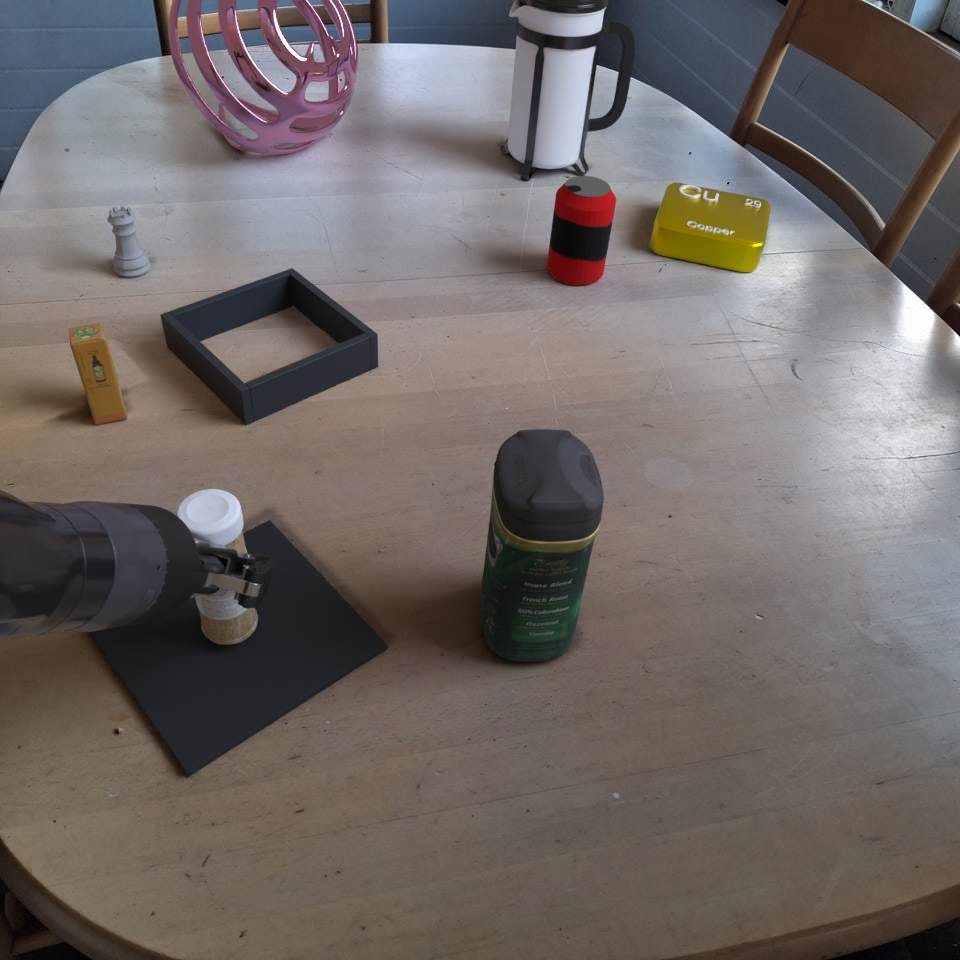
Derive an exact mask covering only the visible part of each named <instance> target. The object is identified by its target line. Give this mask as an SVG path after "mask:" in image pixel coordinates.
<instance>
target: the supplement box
mask: <svg viewBox="0 0 960 960" xmlns="http://www.w3.org/2000/svg"><path fill="white" fill-rule="evenodd" d="M68 334H69V336H68V337H69V347H70V349H71V352H72V356H73V359H74V361H75V364H76V368H77V371H78V374H79V377H80V381H81V384H82V387H83V391H84V394H85V397H86V400H87V403H88V407H89V410H90V413H91V416H92V420H93V424H94V425H96V426H98V425H103V424H108V423H112V422H115V421H116V422H117V421H124V420H127V419H128V413H127V408H126V404H125V400H124V397H123V393H122V389H121V386H120V382H119V378H118V375H117V371H116V368H115V364H114V361H113V358H112V357H113V356H112V353H111V350H110V347H109V344H108V340H107V337H106V333H105V330H104V326H103V325H102V323H101V322H97V323H91V324H86V325H79V326H75V327H69V328H68Z"/></svg>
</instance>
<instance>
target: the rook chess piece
mask: <svg viewBox="0 0 960 960" xmlns="http://www.w3.org/2000/svg"><path fill="white" fill-rule="evenodd" d="M119 207H120V209H118V207H117V206H114V207H112V209H108V213H109V214H108V217H107V222H108V223H109V224H110V225H111V226H112V229H111V233H112V234H114V238H115V248H116V249H115V251H114V256H113V258H112V263H113V270H114V272H115V273H116V274H117V275H119V276H120V277H123V278H127V279H134V278H135V279H136V278H140V277H142V276H145V275H146V274H148V273H149V271H150V269H151V267H152V264H151V261H150V257H149V255H148V253H147V252H146V251H145V250H144V248H142V247H141V244H140V243H139V240H138V238H137V234H136V231H137V227H136V226H135V225H134V223H135V220H136V219H137V217H136V215H135V214H134V213H133V212H132V210H131V208H130V207H128V206H127V207H125V205H120V206H119Z"/></svg>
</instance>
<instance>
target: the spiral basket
mask: <svg viewBox="0 0 960 960" xmlns="http://www.w3.org/2000/svg"><path fill="white" fill-rule="evenodd" d="M278 1H279V0H257V4H256V7H257V18H258V23H259V26H260V30H261V32H262V35H263V37H264V40H265V42H266V43H267V44H266V45H268V47H269V49H270V50H271V52H272V54H273V55H274V56H275V57H276V59H277V60H278V61H279V62H280V63H281V64H282V65H283V67H285V68H286V69H288V71H290V72H291V73H293V74H294V76H295V79H296V80H295V84H294V86H293V88H292V89H291V90H290V91H284V90H283V89H281V88H279V86H278V85H276V84H275V83H273V82H272V81H271V80H270V79H269V78H268V77H267V76H266V74H264V72H263V71H262V70H261V69H260V68H259V66H258V65H257V63H256V61H255V60H254V59H253V58H252V56H251V54H250V52H249V50H248V48H247V45H246V43H245V41H244V39H243V36H242V32H241V29H240V25H239V21H238V14H237V0H217V16H218V23H219V28H220V34H221V36H222V39H223V43H224V45H225V48H226V50H227V53H228V56H229V57H230V59H231V62H232V63H233V64H234V67H235V68H236V70H237V71H238V72H239V74H240V76H241V77H242V78H243V79H244V81H245V82H246V83H247V84H248V86H249V87H250V88H251V89H252V90H253V91H254V92H255V93H256V94H257V95H258V96H260V98H262V99H263V100H264V101H265V102H267V103H268V104H270V105H271V106H272V107H273V108H275V109H276V110H277V112H276V111H271V110H268V109H265V108H263V107H260V106H257V105H255V104H253V103H251V102H249V101H246V100H244V99H242V98H240V97H236V95H235V94H234V93H233V92H232V91H231V89H230V88H229V87H228V85H227V84H226V83H225V81H224V80H223V78H222V76H221V75H220V73H219V71H218V70H217V67H216V66H215V64H214V62H213V58H212V57H211V54H210V52H209V50H208V49H209V48H208V46H207V43H206V40H205V36H204V35H205V34H204V31H203V25H202V24H203V23H202V0H187V2H186V14H185V16H186V18H185V19H186V30H187V35H188V41H189V44H190V48H191V52H192V56H193V57H194V61H195V63H196V65H197V68H198V70H199V72H200V74H201V75H202V78H203V80H204V81H205V83H206V84H207V86H208V88H209V89H210V91H211V92H212V93H213V95H214V96H215V98H216V99H217V100H218V101H219V103H218V107H217V108H218V110H217V111H218V112H217V113H218V115H217V114H216V113H215V112H214V111H213V109H212V108H211V107H210V106H209V104H207V102H206V101H205V100H204V98H203V96H201V94H200V92H199V91H198V89H197V87H196V86H195V83H194V82H193V79H192V78H191V76H190V74H189V72H188V69H187V67H186V64H185V61H184V58H183V55H182V50H181V46H180V40H179V29H178V27H179V26H178V23H179V21H178V20H179V19H178V18H179V12H180V7H181V2H182V0H172V2H171V5H170V10H169V14H168V26H167V32H168V44H169V45H168V46H169V50H170V55H171V59H172V63H173V66H174V69H175V71H176V74H177V77H178V79H179V81H180V83H181V85H182V87H183V89H184V91H185V93H186V95H187V96H188V98H189V99H190V101H191V102H192V104H193V105H194V107H195V108H196V109H197V111H198V112H199V113H200V114H201V115H202V116H203V117H204V119H205V120H206V121H207V122H208V123H209V124H210V125H211V126H212V127H213V128H215V129H216V130H217V131H218V132H219V133H220V134H222V135H223V137H224V139H225V140H226V142H227V143H228V144H229V145H230V147H233V148H234V149H236V150H239V151H241V152H245V153H251V154H253V153H254V154H263V155H288V154H293V153H296V152H300V151H302V150H305V149H307V148H308V147H310V146H312V145H313V144H315V143H316V142H317V141H318V140H320V139H321V138H322V137H323V136H325V135H327V134H328V133H329V132H330V131H332V130H333V129H334V128H335V127H336V126H337V125H338V124H339V122H340V121H341V120H342V118H343V117H344V116H345V113H346V112H347V110H348V108H349V106H350V104H351V102H352V100H353V99H352V98H353V97H354V96H353V95H354V91H355V87H356V83H357V77H358V71H359V47H358V39H357V35H356V32H355V28H354V25H353V23H352V20H351V17H350V15H349V12H348V10H347V8H346V6H345V4H344V3H343V1H342V0H319V1H320V3H321V4H322V6H323V7H324V8H325V11H326V12H327V13H328V15H329V17H330V19H331V21H332V22H333V24H334V25H333V26H334V27H335V29H336V32H337V34H338V37H339V39H340V43H339V42H338V41H337V40H336V39H335V38H334V37H333V36H332V35H329V32H328V31H327V28H326V26H325V25H324V22H323V21H322V19H321V17H320V15H319V14H318V13H317V11H316V10H315V8H314V7H313V5H312V3H310V1H309V0H289V1H290V2H291V3H292V4H293V5H294V7H296V9H297V11H299V12H300V14H301V15H302V17H303V18H304V19H305V21H306V22H307V24H308V25H309V27H310V29H311V30H312V33H313V34H314V36H315V38H316V40H317V43H318V45H319V47H320V50H321V54H322V56H323V59H324V60H323V61H320V62H319V61H316V60H315V42H314V40H311V41H310V42H309V44H308V48H307V51H306V53H305V55H301V54H300V53H299V52H298V51H297V50H296V49H294V48H293V46H292V45H291V44H290V42H289V41H288V40H287V38H286V36H285V34H284V33H283V31H282V28H281V25H280V22H279V18H278ZM342 73H343V75H344V84H343V87H342V89H341V77H340V75H341V74H342ZM313 82H314V83H322V82H323V83H324V82H328V95H327V99H324V100H318V101H317V100H316V101H311V100H307V99H306V97H305V96H306V90H307V88H308V86H309V85H310V83H313ZM224 108H225V109H226V110H227V111H228V113H230V114H231V115H232V116H233V117H234V118H235V119H236V120H237V121H239V122H240V123H241V124H242V125H244V126H245V127H247V128H249V130H252V131H253V132H254V133H256V134H257V136H258V137H256V138H250V137H247V136H244V135H243V134H240V133H239V132H237V131H236V130H234V129H233V128H232V127H230V126H229V123H228V121H227V118H226V117H227V116H226V114H225V109H224ZM259 116H260V117H259ZM261 117H262V118H261ZM263 118H265V119H266V120H265V119H263ZM290 126H291V127H290ZM294 127H295V129H301V130H303V131H301V130H300V131H299V130H292V129H291V128H294ZM304 129H305V130H304ZM282 143H283V144H284V143H287V144H294V145H292V146H284V147H283V146H281V147H279V146H278V147H277V146H274V145H277V144H282Z"/></svg>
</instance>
